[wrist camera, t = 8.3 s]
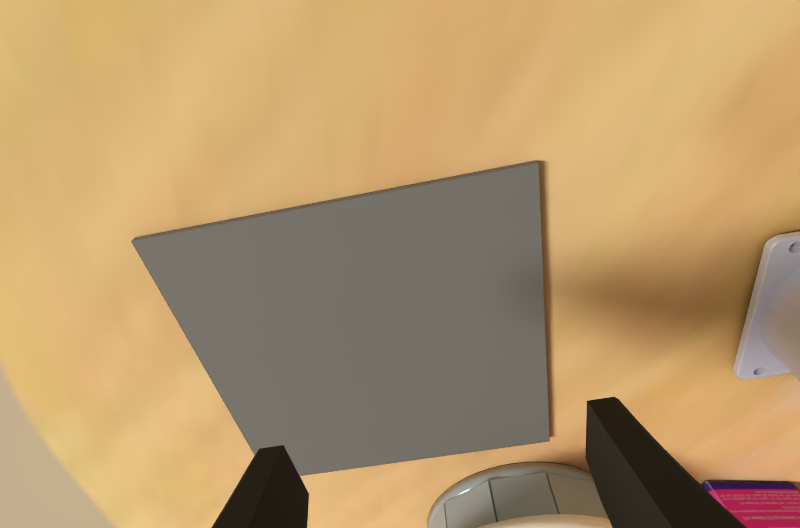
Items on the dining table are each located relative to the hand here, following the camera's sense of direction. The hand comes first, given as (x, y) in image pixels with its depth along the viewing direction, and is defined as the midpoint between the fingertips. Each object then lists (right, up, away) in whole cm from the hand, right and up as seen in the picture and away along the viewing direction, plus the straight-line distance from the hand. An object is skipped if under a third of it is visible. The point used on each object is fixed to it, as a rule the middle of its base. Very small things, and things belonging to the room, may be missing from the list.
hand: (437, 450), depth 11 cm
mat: (-2, 0, +11) cm, 11 cm away
